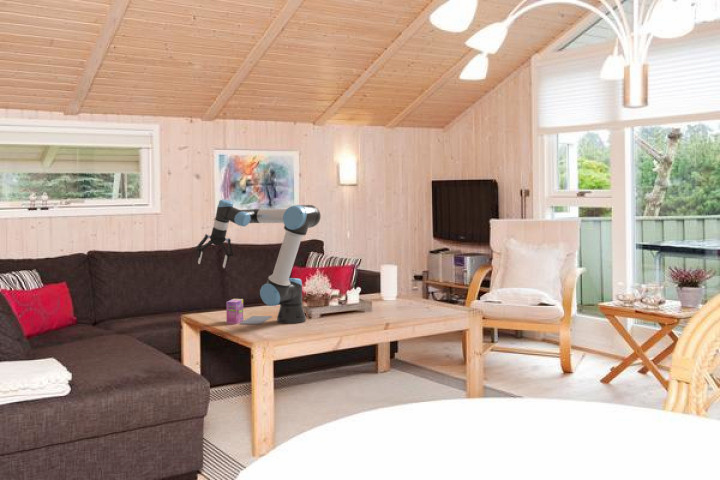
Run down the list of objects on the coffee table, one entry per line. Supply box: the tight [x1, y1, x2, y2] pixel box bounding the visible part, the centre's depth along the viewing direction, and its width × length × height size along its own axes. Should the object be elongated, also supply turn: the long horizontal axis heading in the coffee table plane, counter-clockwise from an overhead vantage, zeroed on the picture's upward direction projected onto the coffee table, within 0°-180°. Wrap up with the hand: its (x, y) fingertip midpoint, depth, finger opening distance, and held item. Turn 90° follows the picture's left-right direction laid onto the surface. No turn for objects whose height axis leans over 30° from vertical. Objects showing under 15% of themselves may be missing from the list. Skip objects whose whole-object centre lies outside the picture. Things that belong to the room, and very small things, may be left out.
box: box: [225, 298, 244, 325], centre depth 388 cm, size 10×6×12 cm, turn 168°
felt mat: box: [238, 315, 273, 325], centre depth 393 cm, size 11×24×1 cm, turn 171°
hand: (211, 265), depth 397 cm, fingers open, 13 cm apart
